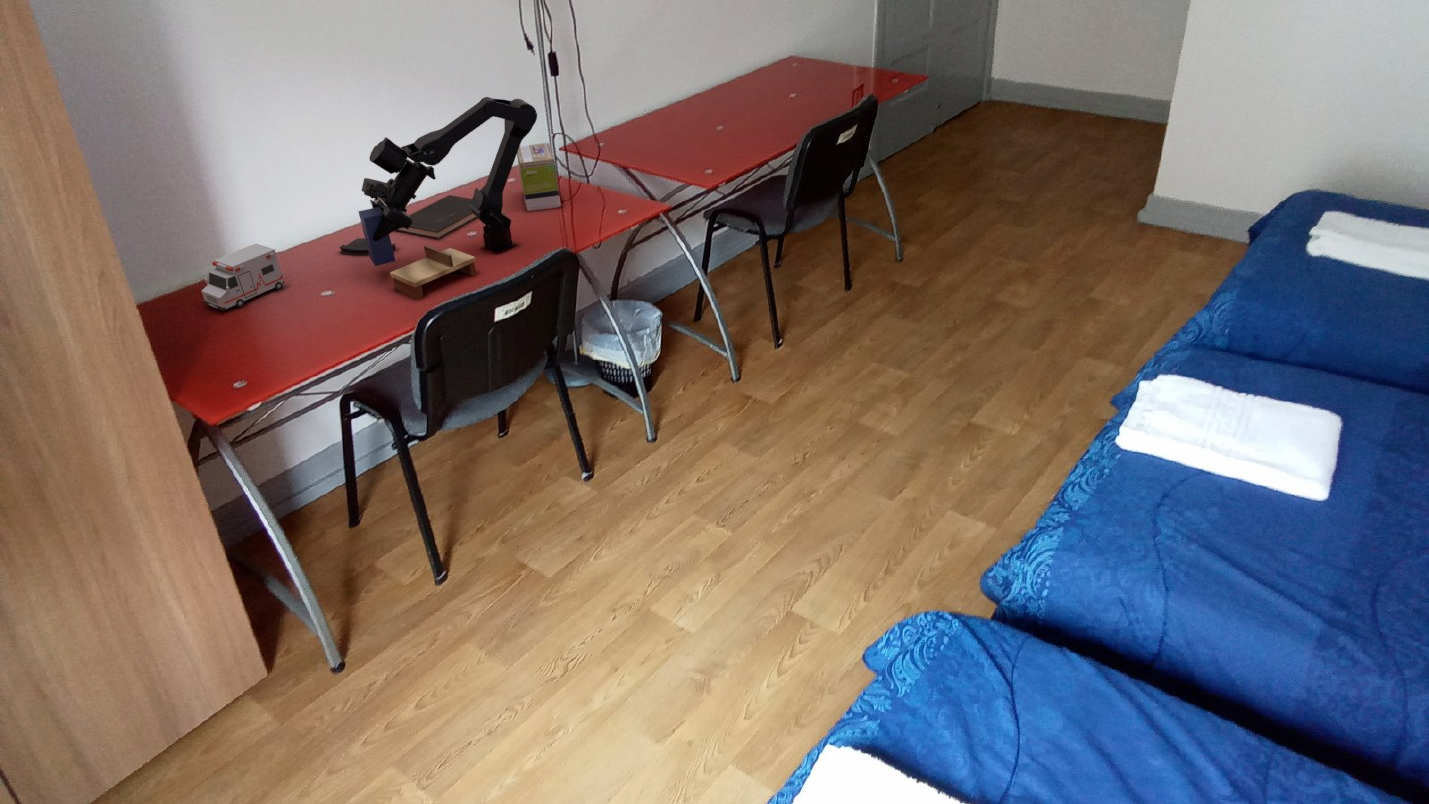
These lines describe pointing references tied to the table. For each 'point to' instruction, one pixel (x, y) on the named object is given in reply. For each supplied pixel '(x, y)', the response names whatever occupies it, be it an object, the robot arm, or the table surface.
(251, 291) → the toy vehicle
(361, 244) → the fan shaped piece
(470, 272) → the wooden stand
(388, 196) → the robot arm
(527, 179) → the tea box
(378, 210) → the navy carton
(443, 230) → the hardcover book
